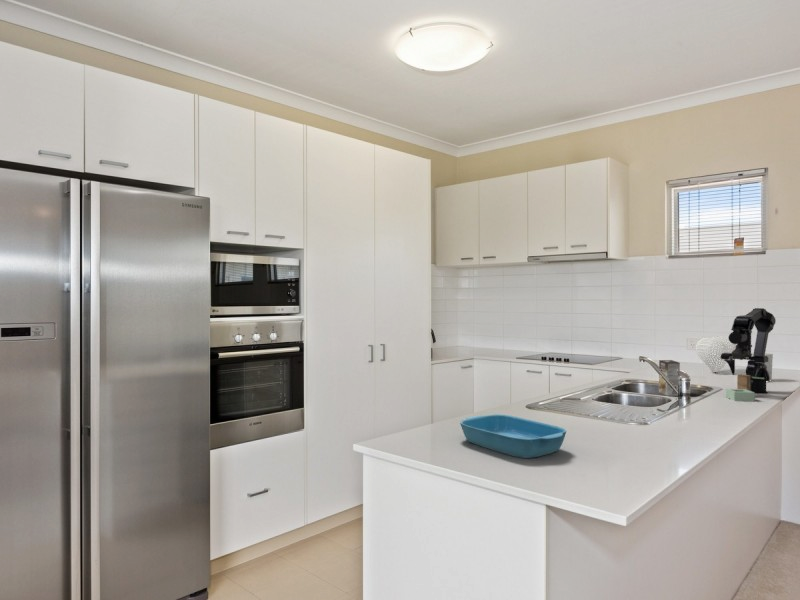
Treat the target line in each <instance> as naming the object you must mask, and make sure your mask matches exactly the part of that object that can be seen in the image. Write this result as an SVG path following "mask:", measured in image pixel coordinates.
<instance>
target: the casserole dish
mask: <svg viewBox="0 0 800 600" xmlns="http://www.w3.org/2000/svg"><path fill="white" fill-rule="evenodd" d="M459 424H460V427H461V430H462V432H463V435H464V437H465V439H466V440H467V441H468V442H470V443H471V444H473V445H475V446H476V445H477V446H479V447H482V448H486V449H488V450H493V451H495V452H498V453H501V454H505V455H508V456H511V457H516V458H522V459H533V458H538V457H541V456H542V457H543V456H547V455H549V454H550V455H551V454H553V453H555V452H557V451H558V450H560V448H561V447H562V445H563V443H564V440H565V438H566V433H567V429H565V428H564V427H560V426H557V425H554V424H553V425H552V424H548V423H545V422H541V421H536V420H532V419H527V418H524V417H518V416H513V415H509V414H484V415H483V414H481V415H474V416H468V417H465V419H462V420H461V421H460V422H459Z"/></svg>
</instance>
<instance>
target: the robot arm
mask: <svg viewBox="0 0 800 600" xmlns="http://www.w3.org/2000/svg"><path fill="white" fill-rule="evenodd" d="M776 321H777V320H776V317H775V316H774V314H772V312H769V311H767V310H766V309H765V308H762V307H761V308H760V307H759V308H758V307H757V308H756V307H755V308H753V309H752V310H751V311H749V312H748V313H746V314H744V315H743V314H742V315H738V316H736V317H735V318H734V320H733V323H732V326H731V332H730V333H729V335H728V338H729V342H731V343H733V344H736V349H735V350H734V351H733V352H732V353H721V355H720V356H721V359H723V360H724V361H726V362H727V363H726V364H728V366H729V369H730V372H731V374H732V375H733V376H734V375H735V371H736V366H735V365H736V360H740V361H742V360H747V365H746V368H745V375H750V391H752V392H755V394H769V392H768V391H767V382H766V381H769V379H770V376H769V373H768V371H767V366H766V364H765V362H768V357H767V356H765V353H766V352H767V351H766V350H767V344H768V338H769V333H771V332H772V331H773V330H774V327H775V324H776ZM754 327H755V329H756V331H757V333H756V339H755V342H754V351H753V352H754V354H753V356H752V347H753V345H752V333H753V331H752V330H753V329H754ZM731 343H730V344H731ZM756 377H760V378H756Z"/></svg>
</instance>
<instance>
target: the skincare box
mask: <svg viewBox="0 0 800 600" xmlns="http://www.w3.org/2000/svg"><path fill="white" fill-rule="evenodd" d="M751 354H752V356H753V354H754V351H753V352H751ZM765 356H767V357H768V362H765V364H766V366H767V371H768V373H769V376H770V379H769V381H770V380H771V381H772V377H773V359H774V357H773V354H772V353H769V352H768V353H767V352H765ZM756 378H760V377H756Z"/></svg>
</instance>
